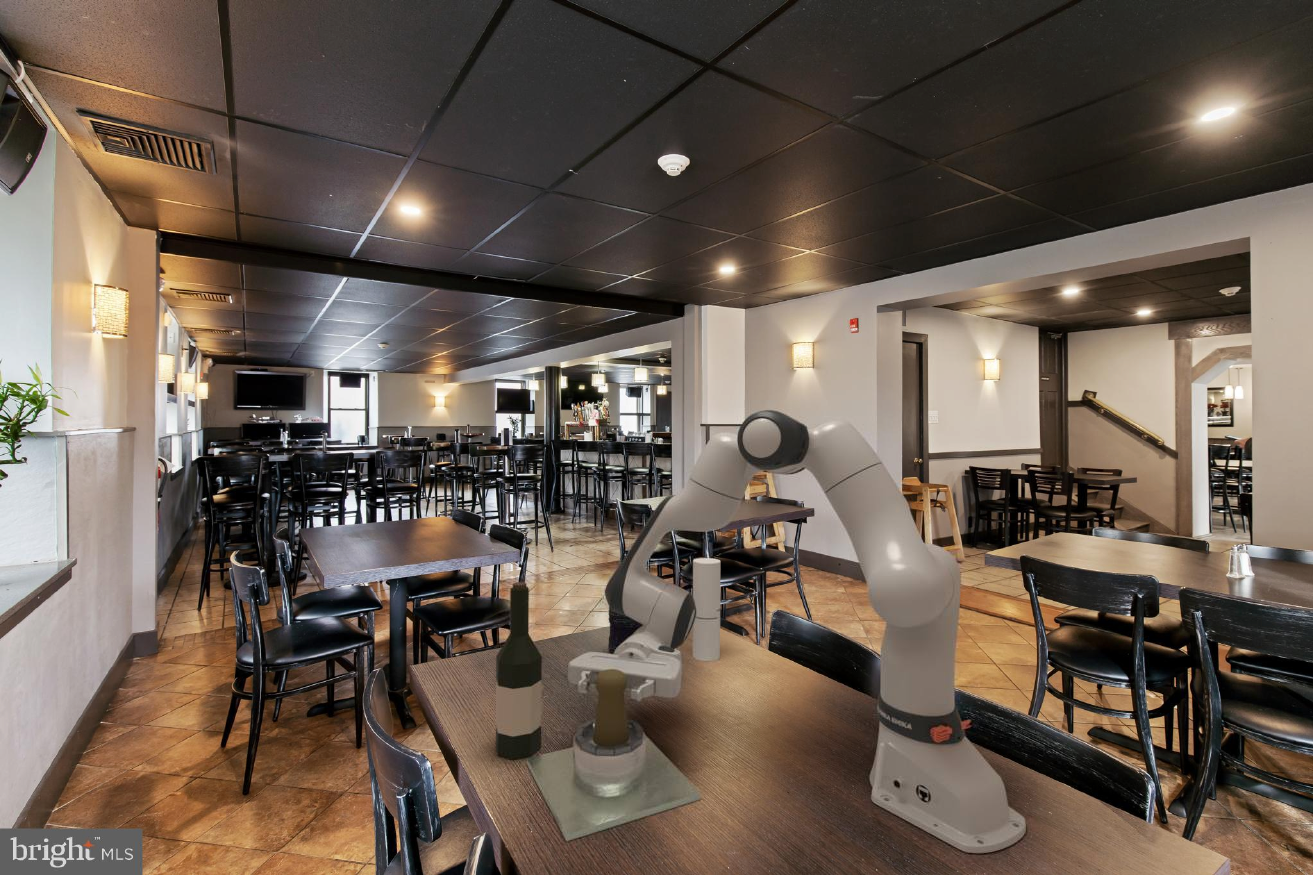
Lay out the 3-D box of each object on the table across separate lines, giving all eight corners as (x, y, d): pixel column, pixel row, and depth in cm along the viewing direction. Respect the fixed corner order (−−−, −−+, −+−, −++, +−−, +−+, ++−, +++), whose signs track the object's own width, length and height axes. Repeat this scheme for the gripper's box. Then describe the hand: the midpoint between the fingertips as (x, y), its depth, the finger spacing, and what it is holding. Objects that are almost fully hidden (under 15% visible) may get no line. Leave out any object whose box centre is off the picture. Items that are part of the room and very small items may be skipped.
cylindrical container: (724, 654, 155) (725, 560, 155) (712, 663, 149) (712, 564, 149) (700, 649, 159) (701, 557, 159) (687, 657, 152) (688, 561, 153)
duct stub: (700, 799, 92) (701, 748, 92) (566, 841, 82) (566, 784, 82) (641, 735, 112) (641, 693, 112) (526, 763, 102) (527, 717, 102)
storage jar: (654, 657, 153) (654, 599, 153) (627, 668, 145) (628, 607, 145) (626, 648, 159) (627, 593, 159) (600, 658, 152) (600, 600, 152)
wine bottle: (525, 731, 113) (526, 576, 113) (550, 748, 107) (551, 583, 107) (486, 747, 107) (487, 583, 108) (510, 765, 101) (511, 592, 102)
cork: (625, 749, 94) (625, 680, 94) (588, 746, 95) (588, 678, 95) (632, 730, 100) (632, 665, 100) (597, 728, 101) (597, 663, 101)
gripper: (586, 639, 113) (551, 665, 100) (689, 651, 106) (666, 681, 93) (586, 671, 113) (551, 702, 100) (689, 686, 106) (666, 720, 93)
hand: (608, 692), depth 96 cm, fingers open, 8 cm apart
